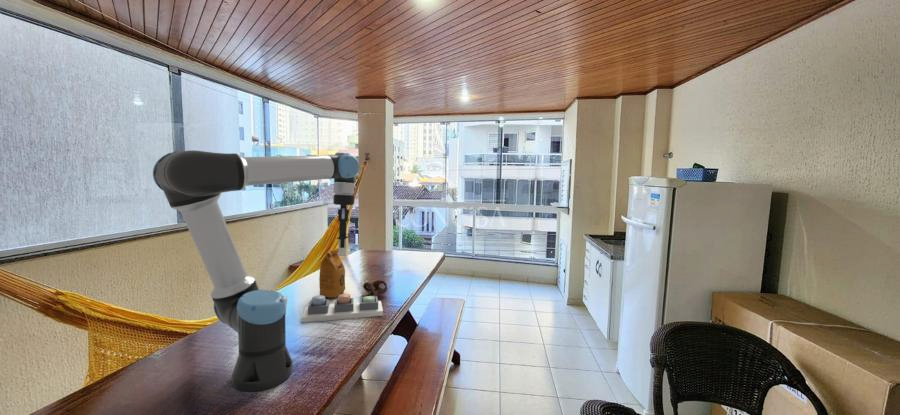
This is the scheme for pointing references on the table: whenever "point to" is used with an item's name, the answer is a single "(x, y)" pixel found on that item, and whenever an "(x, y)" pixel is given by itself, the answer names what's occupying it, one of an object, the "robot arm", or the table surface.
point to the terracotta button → (344, 298)
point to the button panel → (342, 310)
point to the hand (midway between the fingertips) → (342, 255)
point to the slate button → (318, 300)
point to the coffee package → (332, 275)
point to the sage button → (368, 299)
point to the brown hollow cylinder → (375, 287)
